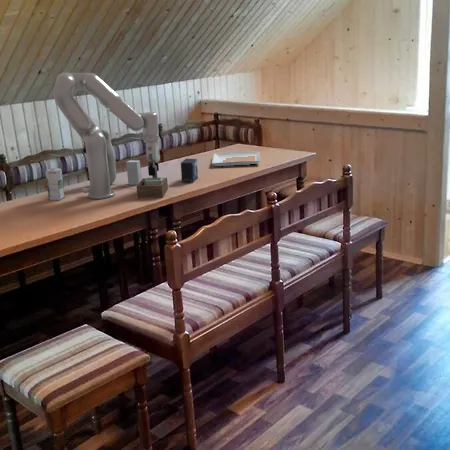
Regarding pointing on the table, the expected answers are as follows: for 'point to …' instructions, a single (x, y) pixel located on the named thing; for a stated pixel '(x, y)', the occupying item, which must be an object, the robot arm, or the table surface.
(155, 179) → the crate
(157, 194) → the bay
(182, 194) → the table surface
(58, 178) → the syrup box
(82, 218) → the table surface
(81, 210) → the table surface
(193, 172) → the small box
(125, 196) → the table surface
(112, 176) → the glass bottle
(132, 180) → the skincare box
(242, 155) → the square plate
